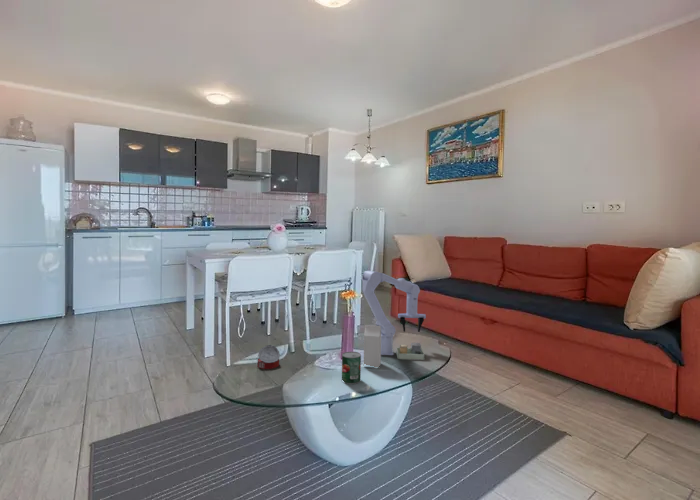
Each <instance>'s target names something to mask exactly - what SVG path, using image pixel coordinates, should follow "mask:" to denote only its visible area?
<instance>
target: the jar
mask: <svg viewBox="0 0 700 500" xmlns="http://www.w3.org/2000/svg"><path fill="white" fill-rule="evenodd" d="M408 346H409V345H407V344H400V345H399V348H400V354H407V348H409V347H408Z"/></svg>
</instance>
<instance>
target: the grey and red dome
mask: <svg viewBox="0 0 700 500" xmlns="http://www.w3.org/2000/svg"><path fill="white" fill-rule="evenodd" d="M257 357H258V358H257V368H258V369H261V370H270V369H276V368H278V367H279V366H280V357H281V353H280V351H279V350H278V347H276V346H275V345H272V344H269V345H265V346H263V347H261V349H259V351H258V354H257Z"/></svg>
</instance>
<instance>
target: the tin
mask: <svg viewBox="0 0 700 500" xmlns="http://www.w3.org/2000/svg"><path fill="white" fill-rule="evenodd" d="M410 348H411V354H421V348H422V344H421V342H410Z"/></svg>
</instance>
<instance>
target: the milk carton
mask: <svg viewBox="0 0 700 500" xmlns="http://www.w3.org/2000/svg"><path fill="white" fill-rule="evenodd" d="M364 327H365V328H364V334H363V365H364V364H366V365H370V366H374V367H379V366H380V367H381V364H382V363H381V362H382V355H381V326H377V325H372V324H370V325H368V324H365V325H364ZM380 367H379V368H380Z"/></svg>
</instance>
